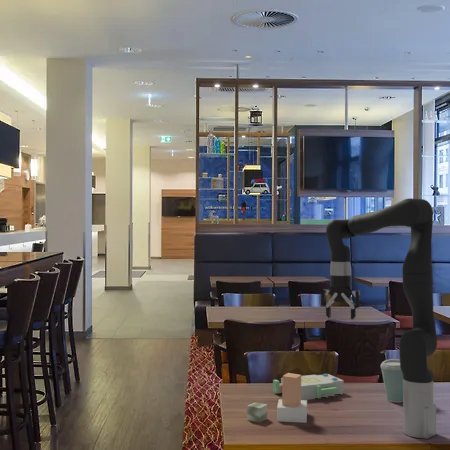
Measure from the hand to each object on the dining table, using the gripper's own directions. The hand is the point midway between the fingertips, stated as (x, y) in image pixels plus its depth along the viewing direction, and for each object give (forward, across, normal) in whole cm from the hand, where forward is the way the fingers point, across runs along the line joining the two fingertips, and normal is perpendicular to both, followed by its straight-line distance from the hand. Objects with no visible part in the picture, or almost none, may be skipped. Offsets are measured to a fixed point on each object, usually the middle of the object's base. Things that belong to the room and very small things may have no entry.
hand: (340, 318), depth 211 cm
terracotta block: (+28, -13, -17) cm, 36 cm away
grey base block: (+34, -13, -16) cm, 39 cm away
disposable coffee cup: (+33, +16, +20) cm, 42 cm away
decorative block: (+34, -17, +15) cm, 41 cm away
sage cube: (+33, -23, -23) cm, 47 cm away
